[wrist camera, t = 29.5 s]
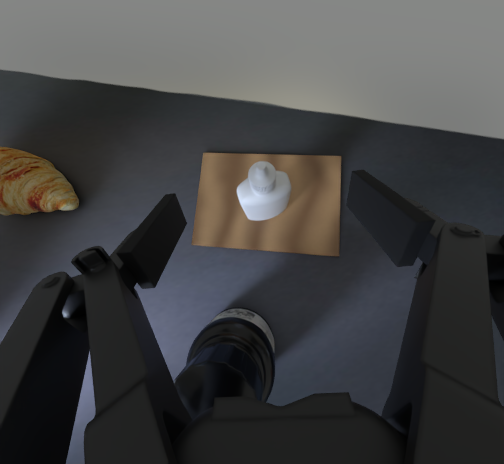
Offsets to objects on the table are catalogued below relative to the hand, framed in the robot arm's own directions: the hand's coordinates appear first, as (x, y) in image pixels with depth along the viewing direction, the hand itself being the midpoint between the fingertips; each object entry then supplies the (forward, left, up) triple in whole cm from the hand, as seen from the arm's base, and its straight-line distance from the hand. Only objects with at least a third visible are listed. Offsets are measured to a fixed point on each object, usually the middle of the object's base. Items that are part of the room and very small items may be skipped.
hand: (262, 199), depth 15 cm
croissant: (-38, +4, -12) cm, 40 cm away
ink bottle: (-2, -15, -12) cm, 20 cm away
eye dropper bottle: (0, +3, -12) cm, 12 cm away
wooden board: (0, +4, -12) cm, 13 cm away
